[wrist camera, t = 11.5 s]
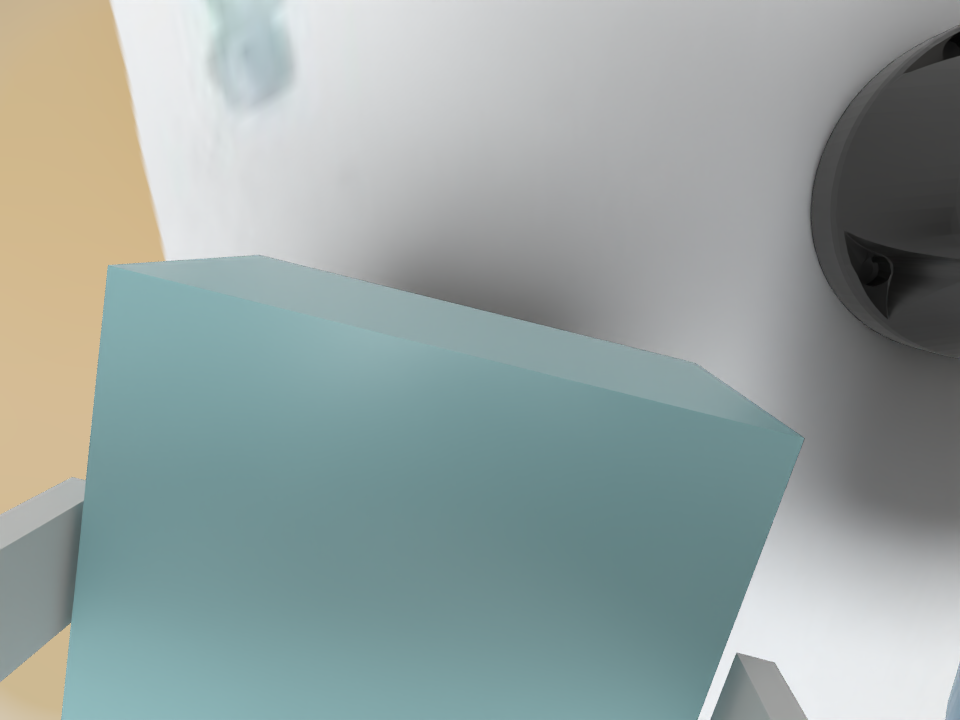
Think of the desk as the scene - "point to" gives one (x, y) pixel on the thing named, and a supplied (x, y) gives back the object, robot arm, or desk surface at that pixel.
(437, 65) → the desk surface
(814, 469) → the desk surface
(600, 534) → the cover cap
